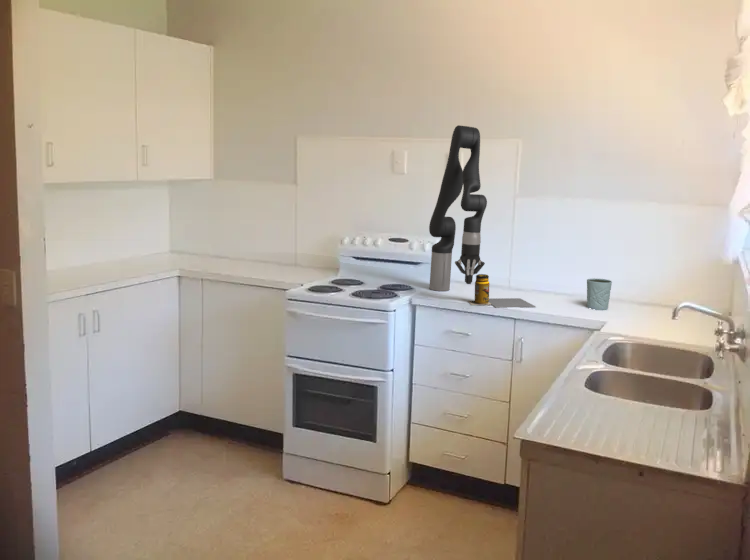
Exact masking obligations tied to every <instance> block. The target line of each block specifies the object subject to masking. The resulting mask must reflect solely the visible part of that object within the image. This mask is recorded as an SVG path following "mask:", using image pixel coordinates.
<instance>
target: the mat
mask: <svg viewBox="0 0 750 560" xmlns="http://www.w3.org/2000/svg"><path fill="white" fill-rule="evenodd" d="M489 303H491V304H490V306H492V307H493V308H496V309H497V308H498V309H499V308H501V309H504V308H505V309H506V308H507V307H520V308H537V306H536V305H533V304H532V303H530V302H528V301H526V300H524V299H522V298H519V297H518V298H515V297H514V298H512V297H511V298H509V297H508V298H501V297H500V298H498V297H497V298H492V297H491V298H490V297H489Z"/></svg>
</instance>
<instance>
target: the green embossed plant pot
mask: <svg viewBox="0 0 750 560" xmlns="http://www.w3.org/2000/svg"><path fill="white" fill-rule="evenodd" d="M612 283H613V281H612V280H610V279H605V278H595V277H594V278H593V277H592V278H588V279H586V308H587V307H588V308H587V309H589V308H591V309H590V310H593V309H595V311H607V310H608V309H609V304H610V297H611V290H612Z"/></svg>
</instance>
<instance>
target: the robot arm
mask: <svg viewBox="0 0 750 560" xmlns="http://www.w3.org/2000/svg"><path fill="white" fill-rule="evenodd" d="M461 149H467V150H470V157H469V158H468V160H467V162H466V163H465V164H464V167H463V168H462V165H461V162H460V150H461ZM480 150H481V134H480V130H479V129H478V128H477V127H474V126H467V125H457V126H455V128H454V129H453V132H452V135H451V141H450V146H449V152H448V158H447V162H446V165H445V169H444V174H443V177H442V180H441V184H440V189H439V194H438V196H437V200H436V203H435V207H434V210H433V213H432V215H431V219H430V221H429V226H428V231H429V234H430V236H431V237H434V238H440V240H439V241H438V242H436V243H434V244H433V245H432V247H431V256H430V274H429V275H430V276H429V290H431V291H439V292H446V291H447V292H448V291H450V288H451V275H452V274H451V272H452V258H453V257H452V255H453V249H454V246H455V238H456V229H457V227H456V225H457V224H456V220H455V219H454V218H453V217H452V216H446V215H447V212H448V210H449V209H450V207H452V205H453V203H455V201H456V200H457V199H458V198H459V196H460V195H461V193H462V196H461V200H460V207H461V209H462V210H463V211H464V212H472V213H474V212H475V213H474V215H473V216H466V217H465V218H464V220H463V231H462V237H461V253H460V254H461V255H460V257H459V259H458V260H455V261H454V264H455V266H456V267H457V268H458V270H459V271H460V273H462V274H463V275H464V282H465V284H467V285H471V284H472V283H473V279H474V278H473V276H474V275H478V273H479V272H480V271H481V269H483V267H484V266H485V262H484V261H482V260H481V257H480V254H481V253H480V250H481V242H482V241H481V238H482V237H481V230H482V229H481V228H482V220H483V217H484V213H485V211H486V208H487V206H488V205H487V204H488V201H487V200H488V199H487V197H486V196H485V195H484V194H479V193H478V194H472V193H475V192H479V191H480V190H481V185H482V184H481V177H480V155H481V151H480ZM462 265H463V266H464V268H463V266H462Z"/></svg>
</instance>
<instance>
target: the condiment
mask: <svg viewBox="0 0 750 560" xmlns="http://www.w3.org/2000/svg"><path fill="white" fill-rule="evenodd" d="M489 278H490V277H489V275H488V274H483V273H479V274H478V273H477V274H475V282H474V300H467V302H468V303H469V304H470V305H471V306H476V305H477V306H478V305H482V306H483V305H484V306H486V305H487V306H488V305H490V304H491V303H489V299H490V281H489ZM490 306H491V305H490Z"/></svg>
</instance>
